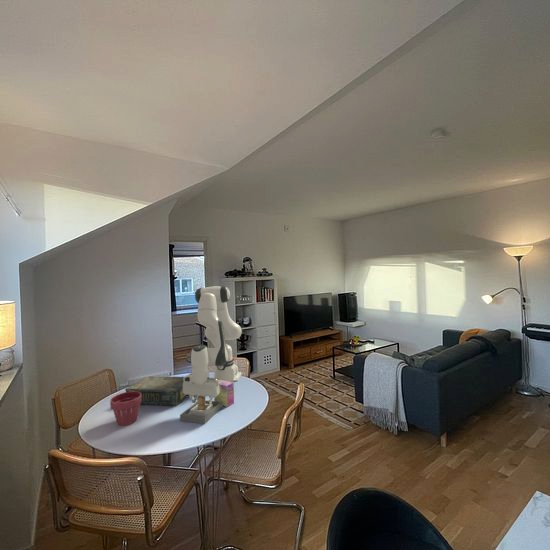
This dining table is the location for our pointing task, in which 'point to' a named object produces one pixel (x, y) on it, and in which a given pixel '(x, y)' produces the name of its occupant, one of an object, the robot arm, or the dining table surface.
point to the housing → (200, 412)
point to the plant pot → (126, 407)
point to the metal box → (160, 390)
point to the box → (225, 393)
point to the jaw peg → (201, 403)
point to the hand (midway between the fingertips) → (201, 403)
